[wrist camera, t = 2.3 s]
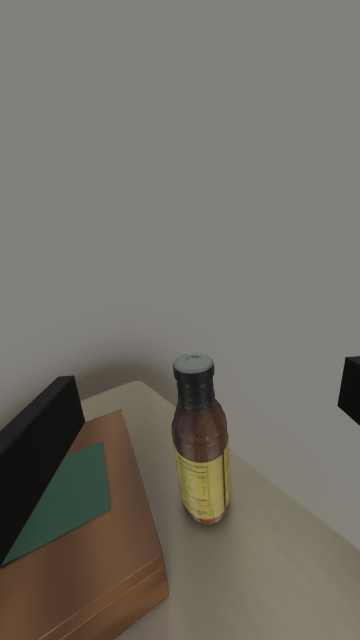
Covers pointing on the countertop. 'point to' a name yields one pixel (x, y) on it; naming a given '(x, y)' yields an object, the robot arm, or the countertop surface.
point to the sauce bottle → (200, 441)
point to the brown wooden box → (85, 547)
